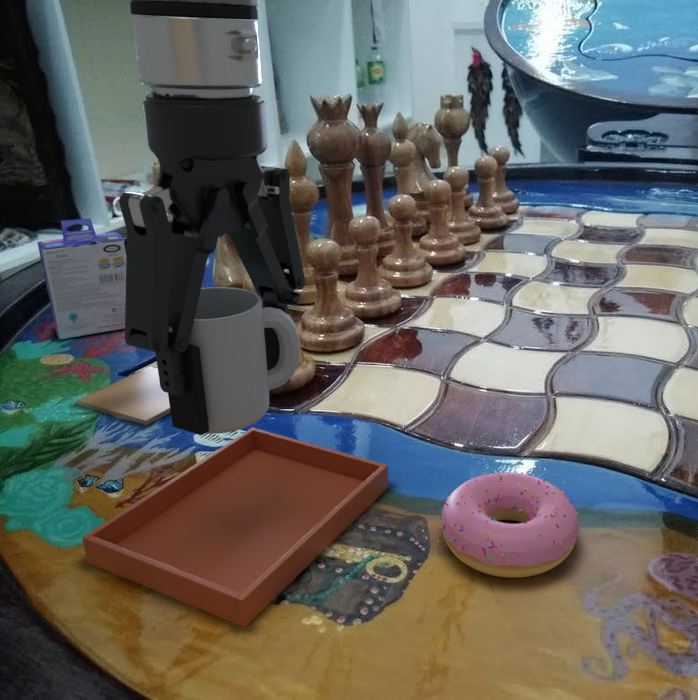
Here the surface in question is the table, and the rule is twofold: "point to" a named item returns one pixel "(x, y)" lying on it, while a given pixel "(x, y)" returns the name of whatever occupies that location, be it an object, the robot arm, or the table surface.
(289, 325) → the cup
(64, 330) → the ink cartridge box
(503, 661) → the table surface
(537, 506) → the doughnut
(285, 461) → the tray
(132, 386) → the cork mat
